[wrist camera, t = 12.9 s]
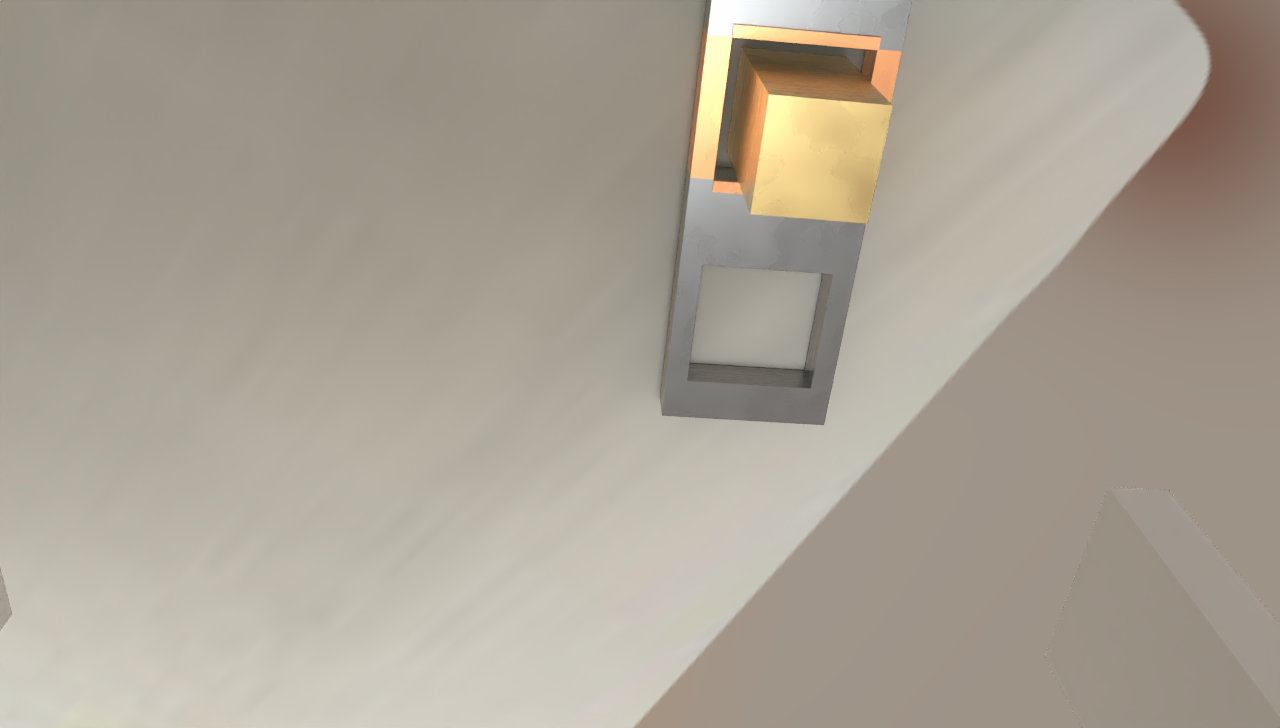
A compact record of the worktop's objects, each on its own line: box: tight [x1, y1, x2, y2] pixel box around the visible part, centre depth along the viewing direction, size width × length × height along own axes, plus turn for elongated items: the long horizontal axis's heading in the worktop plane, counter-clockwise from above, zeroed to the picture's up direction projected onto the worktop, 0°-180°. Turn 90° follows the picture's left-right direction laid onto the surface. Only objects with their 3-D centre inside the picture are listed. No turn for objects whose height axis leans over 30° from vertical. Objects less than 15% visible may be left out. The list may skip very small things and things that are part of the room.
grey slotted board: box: [660, 0, 912, 425], centre depth 46 cm, size 8×20×2 cm, turn 175°
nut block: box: [727, 47, 893, 224], centre depth 41 cm, size 4×4×8 cm
